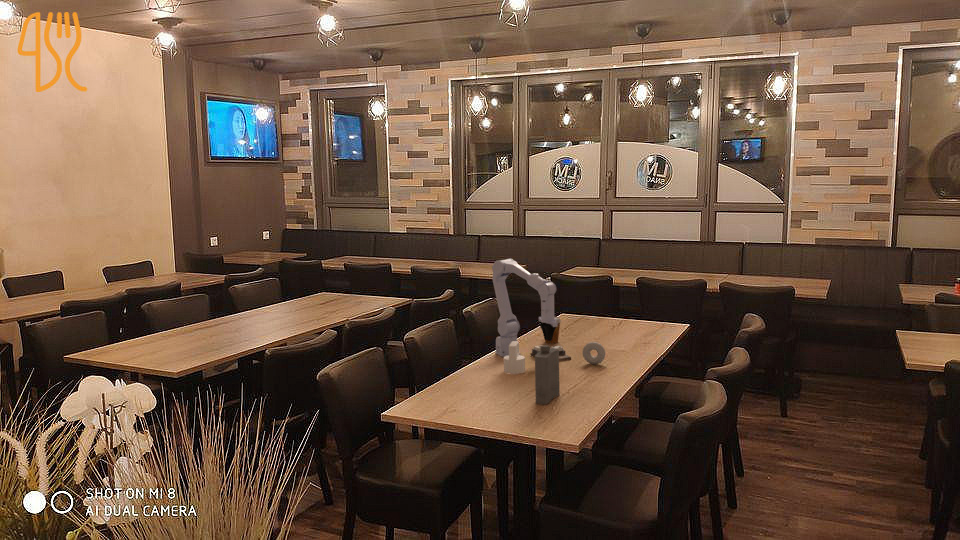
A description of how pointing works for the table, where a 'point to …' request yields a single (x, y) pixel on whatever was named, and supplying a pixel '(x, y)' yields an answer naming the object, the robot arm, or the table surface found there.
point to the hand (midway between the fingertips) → (548, 340)
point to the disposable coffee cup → (555, 332)
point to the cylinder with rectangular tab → (514, 360)
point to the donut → (589, 357)
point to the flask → (546, 374)
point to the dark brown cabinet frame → (561, 355)
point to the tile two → (558, 348)
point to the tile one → (537, 348)
